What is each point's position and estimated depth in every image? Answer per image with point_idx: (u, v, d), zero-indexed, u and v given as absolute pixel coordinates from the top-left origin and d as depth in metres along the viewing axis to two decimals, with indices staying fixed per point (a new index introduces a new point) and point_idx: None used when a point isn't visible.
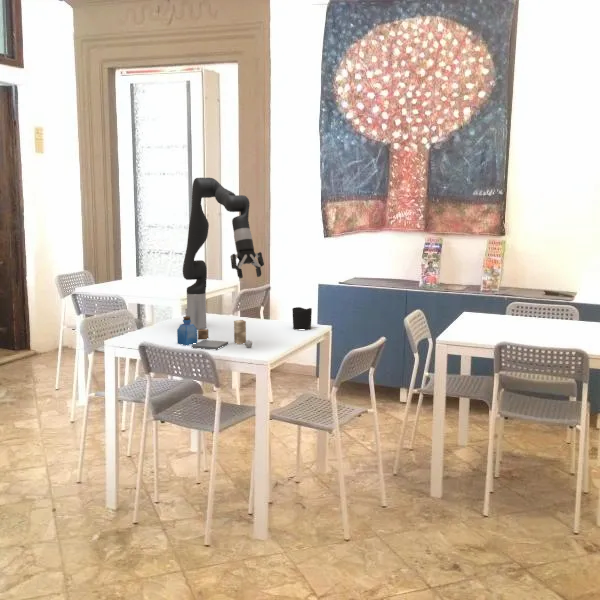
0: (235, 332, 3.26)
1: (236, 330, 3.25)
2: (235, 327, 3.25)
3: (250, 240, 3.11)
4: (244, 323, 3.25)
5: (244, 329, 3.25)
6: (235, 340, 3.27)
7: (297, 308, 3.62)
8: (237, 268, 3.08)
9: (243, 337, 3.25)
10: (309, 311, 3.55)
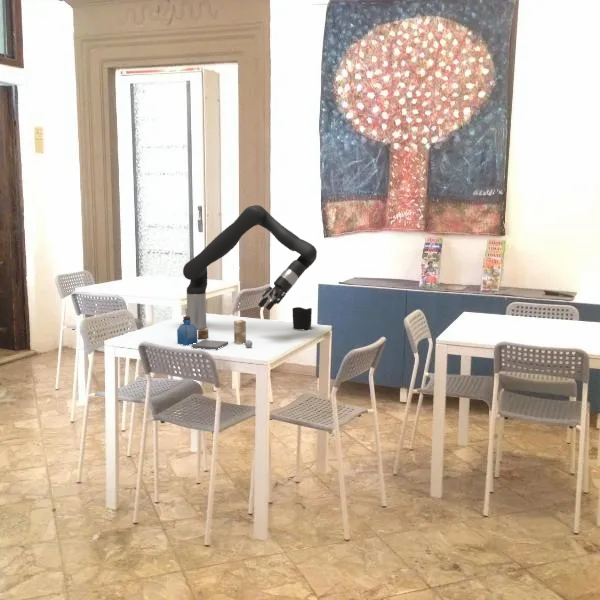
0: (235, 332, 3.26)
1: (236, 330, 3.25)
2: (235, 327, 3.25)
3: None
4: (244, 323, 3.25)
5: (244, 329, 3.25)
6: (235, 340, 3.27)
7: (297, 308, 3.62)
8: (275, 303, 3.26)
9: (243, 337, 3.25)
10: (309, 311, 3.55)
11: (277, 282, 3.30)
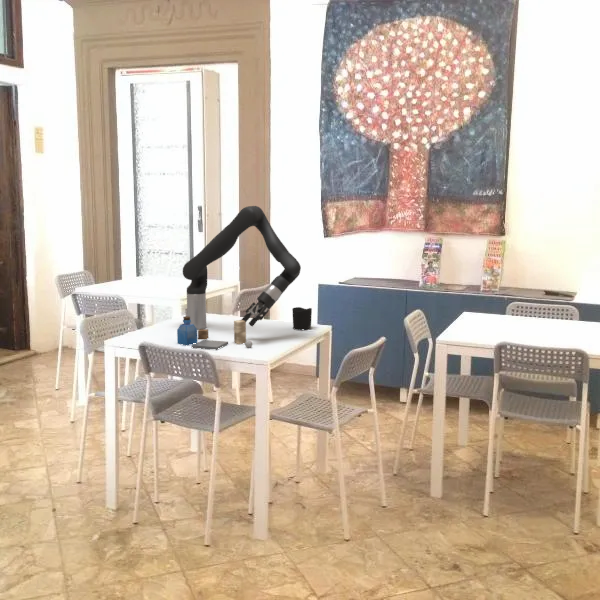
0: (235, 332, 3.26)
1: (236, 330, 3.25)
2: (235, 327, 3.25)
3: None
4: (244, 323, 3.25)
5: (244, 329, 3.25)
6: (235, 340, 3.27)
7: (297, 308, 3.62)
8: (258, 319, 3.24)
9: (243, 337, 3.25)
10: (309, 311, 3.55)
11: (260, 298, 3.27)
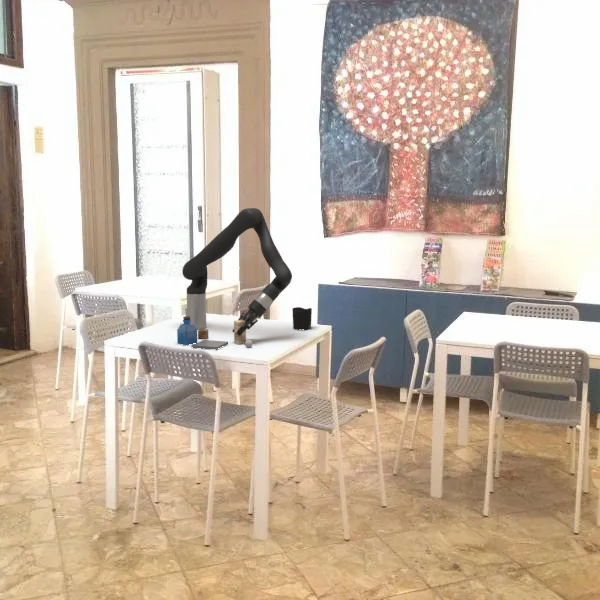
0: (235, 332, 3.26)
1: (236, 330, 3.25)
2: (235, 327, 3.25)
3: None
4: None
5: None
6: (235, 340, 3.27)
7: (297, 308, 3.62)
8: (245, 329, 3.24)
9: (243, 337, 3.25)
10: (309, 311, 3.55)
11: (251, 306, 3.26)
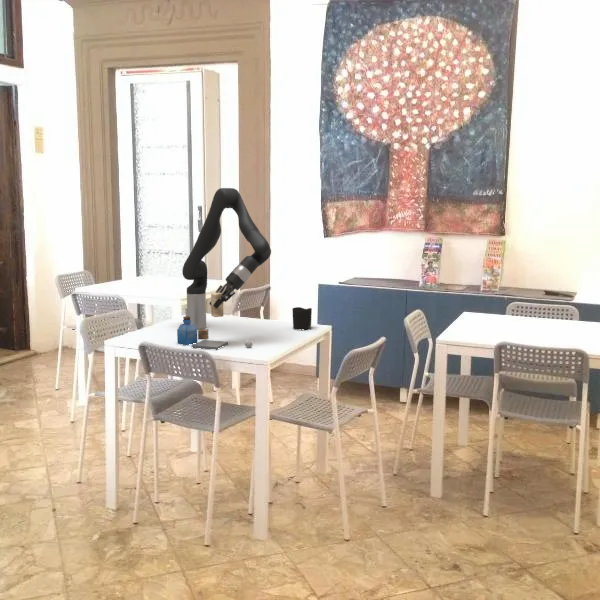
0: (212, 305, 3.19)
1: (213, 302, 3.18)
2: (212, 299, 3.19)
3: None
4: None
5: None
6: (212, 313, 3.20)
7: (297, 308, 3.62)
8: (223, 301, 3.17)
9: (220, 309, 3.19)
10: (309, 311, 3.55)
11: (228, 278, 3.19)
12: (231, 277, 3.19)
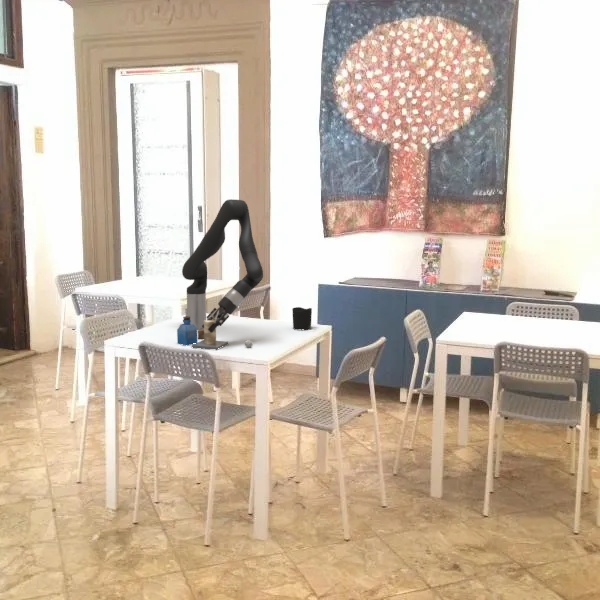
0: (205, 332, 3.19)
1: (206, 330, 3.18)
2: (205, 327, 3.19)
3: None
4: None
5: None
6: (205, 340, 3.20)
7: (297, 308, 3.62)
8: (217, 325, 3.16)
9: (213, 337, 3.19)
10: (309, 311, 3.55)
11: (221, 303, 3.19)
12: (223, 302, 3.19)
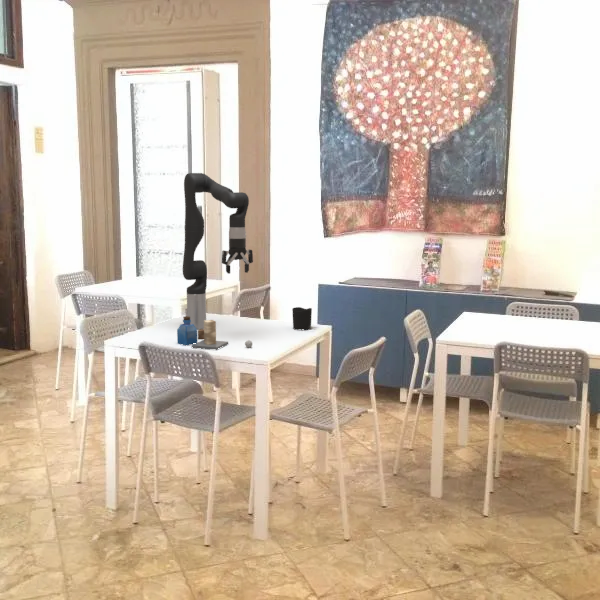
0: (205, 332, 3.19)
1: (206, 330, 3.18)
2: (205, 327, 3.19)
3: (243, 240, 3.28)
4: (214, 323, 3.18)
5: (214, 329, 3.19)
6: (205, 340, 3.20)
7: (297, 308, 3.62)
8: (226, 264, 3.29)
9: (213, 337, 3.19)
10: (309, 311, 3.55)
11: None
12: None
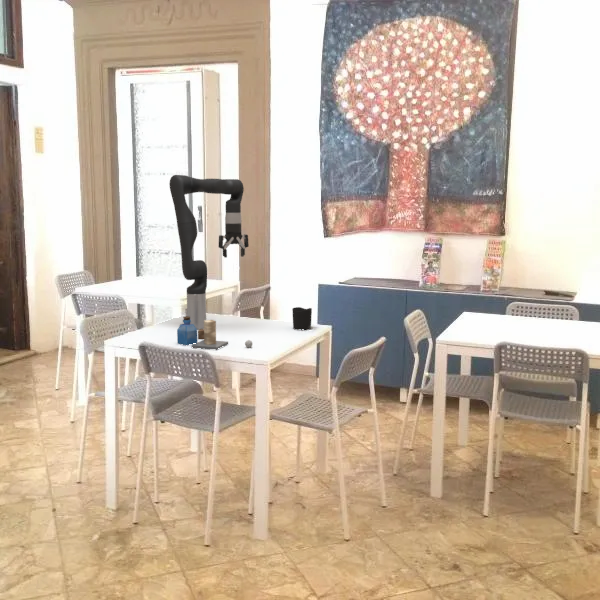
0: (205, 332, 3.19)
1: (206, 330, 3.18)
2: (205, 327, 3.19)
3: (238, 224, 3.41)
4: (214, 323, 3.18)
5: (214, 329, 3.19)
6: (205, 340, 3.20)
7: (297, 308, 3.62)
8: (223, 248, 3.42)
9: (213, 337, 3.19)
10: (309, 311, 3.55)
11: None
12: None
